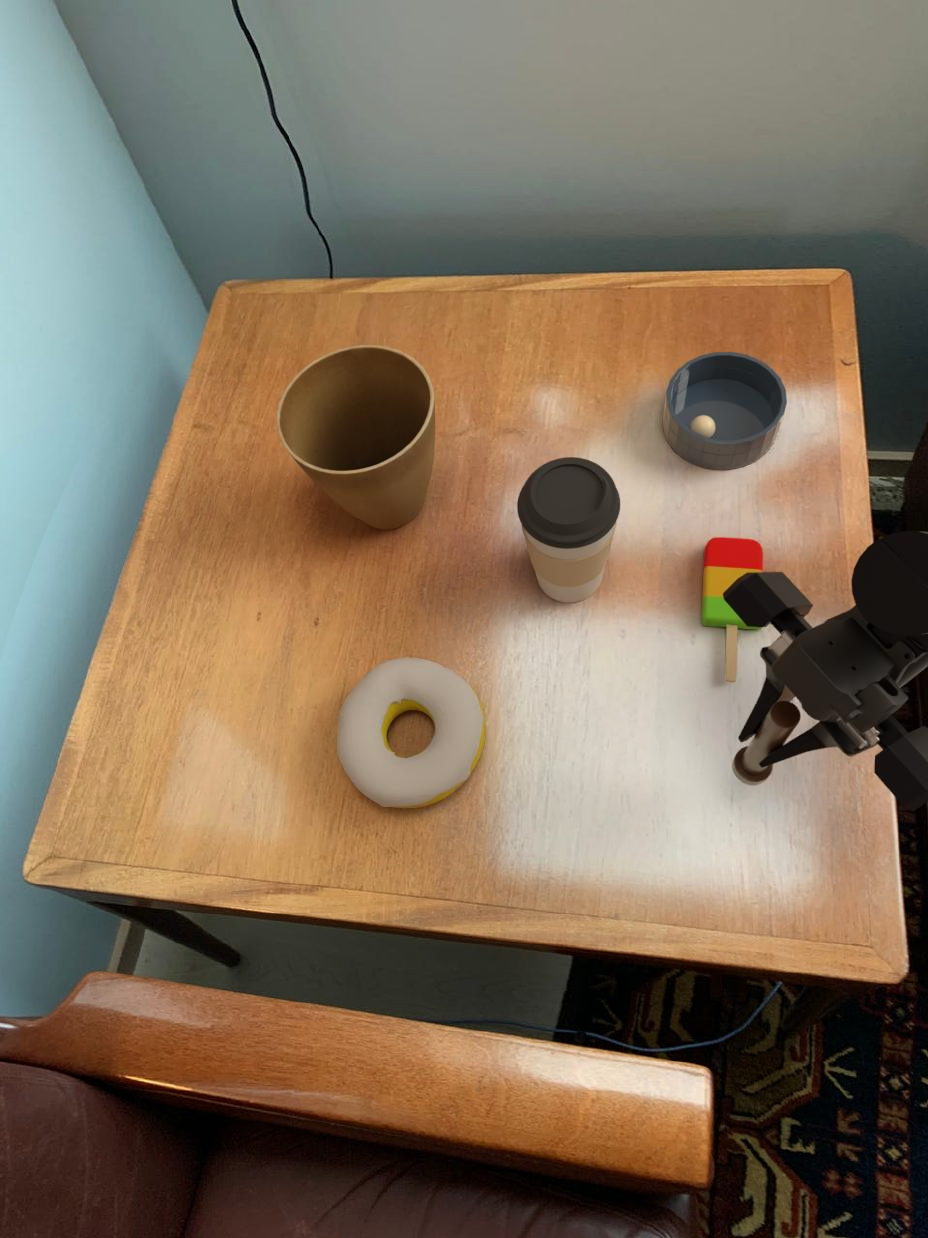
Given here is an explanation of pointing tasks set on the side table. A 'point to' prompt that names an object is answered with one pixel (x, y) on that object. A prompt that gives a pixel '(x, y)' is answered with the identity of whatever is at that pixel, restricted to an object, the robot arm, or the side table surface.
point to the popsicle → (719, 573)
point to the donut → (376, 708)
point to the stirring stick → (766, 743)
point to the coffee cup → (569, 525)
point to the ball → (703, 426)
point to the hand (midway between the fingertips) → (751, 752)
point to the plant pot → (363, 431)
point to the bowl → (724, 409)
